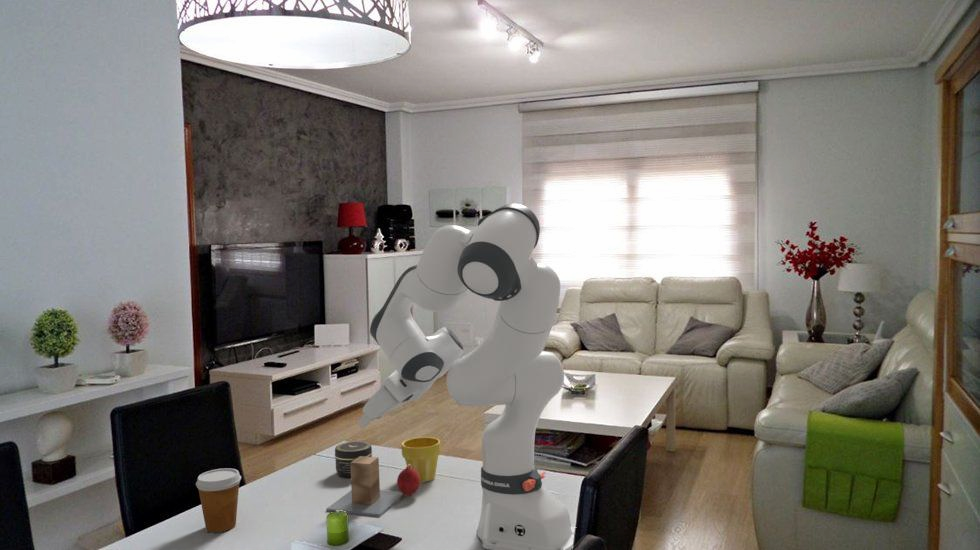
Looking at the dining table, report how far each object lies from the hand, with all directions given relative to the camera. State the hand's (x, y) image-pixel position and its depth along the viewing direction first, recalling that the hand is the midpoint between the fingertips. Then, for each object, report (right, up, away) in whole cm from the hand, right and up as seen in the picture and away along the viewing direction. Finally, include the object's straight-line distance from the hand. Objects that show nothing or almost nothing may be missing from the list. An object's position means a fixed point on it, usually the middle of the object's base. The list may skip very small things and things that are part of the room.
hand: (368, 420), depth 164 cm
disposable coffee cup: (-32, -22, -10) cm, 40 cm away
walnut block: (-1, -20, +2) cm, 20 cm away
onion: (+9, -20, +6) cm, 23 cm away
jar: (-8, -20, +24) cm, 32 cm away
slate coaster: (-1, -20, +2) cm, 20 cm away
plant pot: (+11, -19, +18) cm, 29 cm away
